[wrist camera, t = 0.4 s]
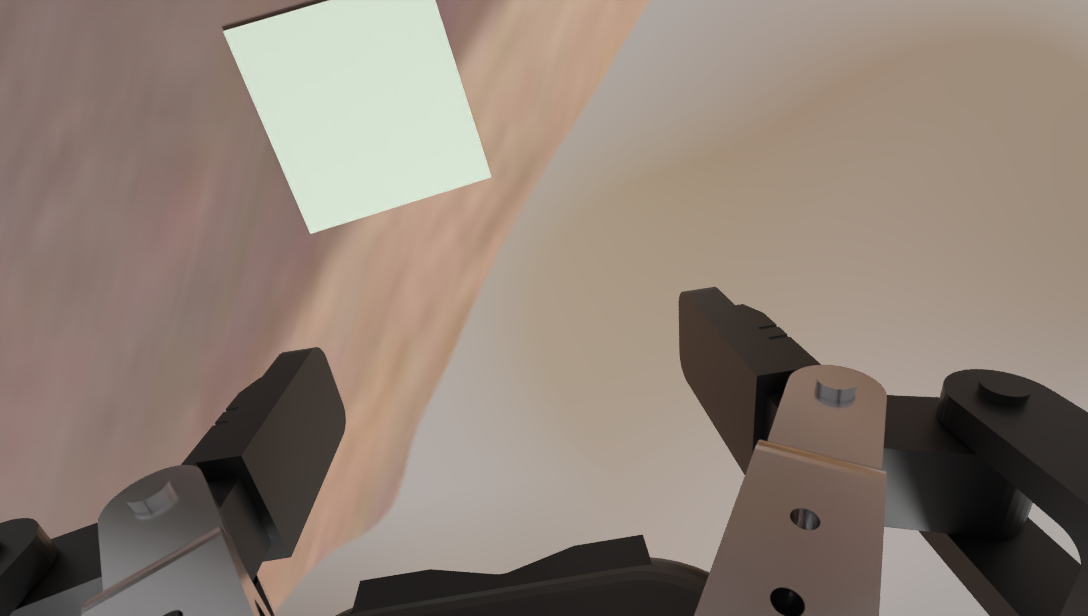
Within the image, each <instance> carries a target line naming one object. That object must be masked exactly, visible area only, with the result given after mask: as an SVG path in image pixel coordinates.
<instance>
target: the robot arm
mask: <svg viewBox="0 0 1088 616" xmlns="http://www.w3.org/2000/svg"><path fill="white" fill-rule="evenodd" d="M679 345H680V346H679V348H680V360H681V367H682V370H683V373H684V376H685V379H686V381H687V382H688V384H689V386H690V387H691V388H692V390H693V392H694V394H695V395H696V397H697V398H698V400H699V402H700V403H701V405H702V407H703V408H704V410H705V411H706V413H707V415H708V416H709V418H710V419H711V421H712V422H713V424H714V426H715V428H716V429H717V431H718V432H719V434H720V435H721V437H722V439H723V440H724V442H725V444H726V445H727V447H728V448H729V450H730V452H731V453H732V455H733V457H734V458H735V460H736V462H737V463H738V465H739V466H740V468H741V470H742V471H743V473H744V475H745V477H744V480H743V483H742V486H741V488H740V491H739V494H738V497H737V499H736V502H735V505H734V507H733V510H732V513H731V516H730V519H729V521H728V524H727V527H726V529H725V532H724V535H723V538H722V541H721V543H720V546H719V549H718V552H717V554H716V557H715V560H714V562H713V565H712V568H711V571H710V573H709V572H707V571H704V570H702V569H700V568H697V567H694V566H691V565H688V564H684V563H681V562H677V561H672V560H666V559H660V558H650V557H649V553H648V550H647V547H646V544H645V541H644V537H643V535H638V536H632V537H625V538H620V539H613V540H608V541H601V542H595V543H589V544H583V545H577V546H573V547H570V548H568V549H565V550H563V551H561V552H558V553H555V554H553V555H550V556H548V557H545V558H543V559H541V560H538V561H536V562H533V563H531V564H528V565H526V566H523V567H521V568H518V569H516V570H514V571H511V572H509V573H505V574H483V573H470V572H456V571H444V570H424V571H418V572H412V573H406V574H399V575H393V576H387V577H381V578H375V579H369V580H363V581H360V584H359V587H358V591H357V595H356V599H355V602H354V606H353V608H351V609H348V610H346V611H344V612H342V613H340V614H338V615H336V616H879V605H880V588H881V569H882V552H883V533H884V527H891V528H900V529H909V530H918V531H919V532H920V533H921V535H922V536H923V537H924V538H925V539H926V541H927V542H928V543H929V544H930V545H931V546H932V547H933V549H934V550H935V551H936V552H937V554H938V555H939V556H940V557H941V558H942V559H943V561H944V562H945V563H946V564H947V566H948V567H949V568H950V569H951V570H952V571H953V573H954V574H955V575H956V576H957V577H958V578H959V580H960V581H961V582H962V583H963V585H964V586H965V587H966V588H967V589H968V591H969V592H970V593H971V594H972V595H973V597H974V598H975V599H976V600H977V601H978V602H979V604H980V605H981V606H982V607H983V608H984V610H985V611H986V612H987V613H988V614H989V616H1088V412H1086V411H1085V410H1083V409H1081V408H1080V407H1078V406H1076V405H1075V404H1073V403H1072V402H1070V401H1068V400H1067V399H1065V398H1064V397H1062V396H1060V395H1059V394H1057V393H1055V392H1054V391H1052V390H1050V389H1049V388H1047V387H1045V386H1043V385H1041V384H1039V383H1037V382H1035V381H1032V380H1030V379H1027V378H1024V377H1021V376H1017V375H1014V374H1010V373H1005V372H1000V371H994V370H983V369H971V370H963V371H958V372H954V373H952V374H950V375H949V376H947V377H946V379H945V380H944V383H943V387H942V391H941V395H940V398H938V397H915V396H894V395H886V392H885V389H884V388H883V387H882V386H881V384H880V383H878V382H877V381H876V380H875V379H873V378H871V377H870V376H868V375H866V374H864V373H862V372H859V371H856V370H853V369H850V368H845V367H841V366H834V365H821V364H820V363H819V362H818V361H816V360H815V359H814V358H813V357H812V356H811V355H810V354H809V353H807V352H806V351H805V350H804V349H803V348H802V347H801V346H800V345H799V344H797V343H796V342H795V341H794V340H793V339H792V338H791V337H788V336H787V334H786V333H785V332H784V331H783V330H782V329H781V328H779V327H777V326H776V324H775V323H774V322H773V321H772V320H771V319H770V318H768V317H767V316H766V315H765V314H764V313H762V312H760V311H758V310H755V309H753V308H750V307H748V306H746V305H743V304H741V305H734V304H733V303H732V302H731V301H730V300H729V299H728V298H727V297H726V296H725V295H724V294H723V293H722V292H721V291H720V290H719V289H718V288H716V287H711V288H705V289H698V290H691V291H685V292H681V294H680V297H679ZM215 424H216V425H215V426H212V427H211V428H210V430H209V431H208V432H207V433H206V435H205V436H204V437H203V438H202V439H201V441H200V442H199V443H198V444H197V446H196V447H195V448H194V449H193V451H192V452H191V453H190V454H189V456H188V457H187V458H186V459H185V460H184V462H183V463H182V464H181V465H178V466H173V467H169V468H165V469H162V470H159V471H157V472H154V473H152V474H150V475H147V476H145V477H143V478H141V479H139V480H138V481H136V482H134V483H133V484H131V485H129V486H128V487H127V488H125V489H124V490H122V491H121V492H120V493H119V494H117V495H116V496H115V497H114V498H113V499H112V500H111V501H110V502H109V503H108V504H107V505H106V506H105V507H104V509H103V510H102V512H101V513H100V515H99V518H98V523H95V524H92V525H90V526H87V527H84V528H81V529H78V530H76V531H73V532H70V533H67V534H64V535H61V536H59V537H56V538H53V539H50V538H49V537H48V535H47V534H46V533H45V532H44V530H43V529H42V528H41V526H40V525H39V524H38V522H37V521H35V520H34V519H30V518H20V519H14V520H9V521H5V522H2V523H0V616H277V615H276V613H275V611H274V608H273V606H272V604H271V601H270V599H269V597H268V595H267V592H266V590H265V588H264V585H263V583H262V582H261V580H260V578H259V576H258V574H257V572H258V570H259V568H260V566H261V564H262V562H264V561H270V560H276V559H282V558H289V557H291V556H292V554H293V551H294V549H295V547H296V544H297V542H298V540H299V537H300V535H301V533H302V530H303V528H304V526H305V523H306V521H307V519H308V516H309V514H310V512H311V509H312V507H313V505H314V502H315V500H316V498H317V495H318V493H319V491H320V488H321V486H322V483H323V481H324V479H325V476H326V474H327V472H328V469H329V467H330V465H331V462H332V460H333V458H334V455H335V453H336V451H337V448H338V446H339V444H340V441H341V439H342V437H343V434H344V431H345V424H346V417H345V410H344V406H343V403H342V400H341V397H340V394H339V391H338V389H337V386H336V383H335V380H334V378H333V375H332V372H331V369H330V367H329V364H328V361H327V358H326V356H325V354H324V352H323V351H322V350H321V349H320V348H318V347H315V348H309V349H302V350H295V351H289V352H283V353H281V354H280V355H279V356H278V357H277V358H276V360H275V361H274V362H273V364H272V365H271V366H270V367H269V369H268V370H267V371H266V373H265V374H264V375H263V376H262V378H259V379H258V380H256V381H255V382H254V383H252V384H251V385H249V386H248V387H247V388H245V389H244V390H243V391H241V392H240V393H239V394H238V395H237V396H236V397H235V399H234V400H233V401H232V402H231V404H230V405H229V406H228V407H227V409H226V412H223V413H222V415H221V416H220V417H219V418H218V420H217V421H216V422H215ZM1032 503H1035V504H1036V505H1037V506H1038V507H1039V508H1040V509H1041V510H1043V511H1044V512H1045V513H1046V514H1047V515H1048V516H1049V517H1051V518H1052V519H1053V520H1054V521H1055V522H1057V523H1058V524H1059V525H1060V526H1061V527H1062V528H1063V529H1064V530H1065V531H1066V532H1067V533H1068V535H1069V536H1070V537H1071V539H1072V540H1073V542H1074V544H1075V545H1076V547H1077V550H1078V552H1079V555H1080V559H1081V565H1080V564H1079V563H1078V562H1077V561H1076V560H1075V559H1074V558H1073V557H1071V556H1070V555H1069V554H1068V553H1067V552H1066V551H1065V550H1064V549H1063V548H1061V547H1060V546H1059V545H1058V544H1057V543H1056V542H1055V541H1054V540H1053V539H1052V538H1050V537H1049V536H1048V535H1047V534H1046V533H1045V532H1044V531H1043V530H1042V529H1040V528H1039V527H1038V526H1037V525H1036V524H1035V523H1034V522H1033V521H1032V520H1030V519H1029V518H1028V514H1029V512H1030V509H1031V506H1032Z"/></svg>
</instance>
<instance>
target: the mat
mask: <svg viewBox="0 0 1088 616" xmlns="http://www.w3.org/2000/svg"><path fill="white" fill-rule="evenodd" d="M223 32H224V35H225V37H226V39H227V42H228V44H229V46H230V49H231V51H232V53H233V56H234V58H235V60H236V63H237V65H238V67H239V70H240V72H241V74H242V76H243V79H244V81H245V83H246V86H247V88H248V90H249V93H250V95H251V97H252V100H253V102H254V104H255V107H256V109H257V111H258V114H259V116H260V118H261V121H262V123H263V125H264V127H265V130H266V132H267V134H268V137H269V139H270V141H271V144H272V146H273V148H274V151H275V153H276V155H277V158H278V160H279V162H280V165H281V167H282V169H283V172H284V174H285V176H286V179H287V181H288V183H289V185H290V188H291V190H292V192H293V195H294V197H295V199H296V202H297V204H298V206H299V209H300V211H301V213H302V216H303V218H304V220H305V223H306V225H307V227H308V230H309V232H310V234H311V233H315V232H318V231H321V230H324V229H327V228H331V227H334V226H337V225H340V224H343V223H347V222H350V221H353V220H356V219H359V218H363V217H366V216H369V215H372V214H375V213H379V212H382V211H385V210H388V209H391V208H394V207H398V206H401V205H404V204H407V203H410V202H414V201H417V200H420V199H423V198H426V197H430V196H433V195H436V194H439V193H442V192H446V191H449V190H452V189H455V188H458V187H461V186H465V185H468V184H471V183H474V182H477V181H481V180H484V179H487V178H490V177H491V174H490V170H489V167H488V164H487V161H486V158H485V155H484V152H483V148H482V145H481V142H480V139H479V136H478V133H477V130H476V127H475V123H474V120H473V117H472V114H471V111H470V108H469V105H468V101H467V98H466V95H465V92H464V89H463V86H462V83H461V79H460V76H459V73H458V70H457V67H456V64H455V61H454V58H453V54H452V51H451V48H450V45H449V42H448V39H447V36H446V32H445V29H444V26H443V23H442V20H441V17H440V14H439V11H438V7H437V4H436V1H435V0H329V1H325V2H322V3H318V4H315V5H311V6H308V7H304V8H301V9H297V10H294V11H291V12H287V13H284V14H280V15H277V16H273V17H270V18H266V19H263V20H260V21H256V22H253V23H249V24H246V25H242V26H239V27H235V28H232V29H228V30H225V31H223Z"/></svg>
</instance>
